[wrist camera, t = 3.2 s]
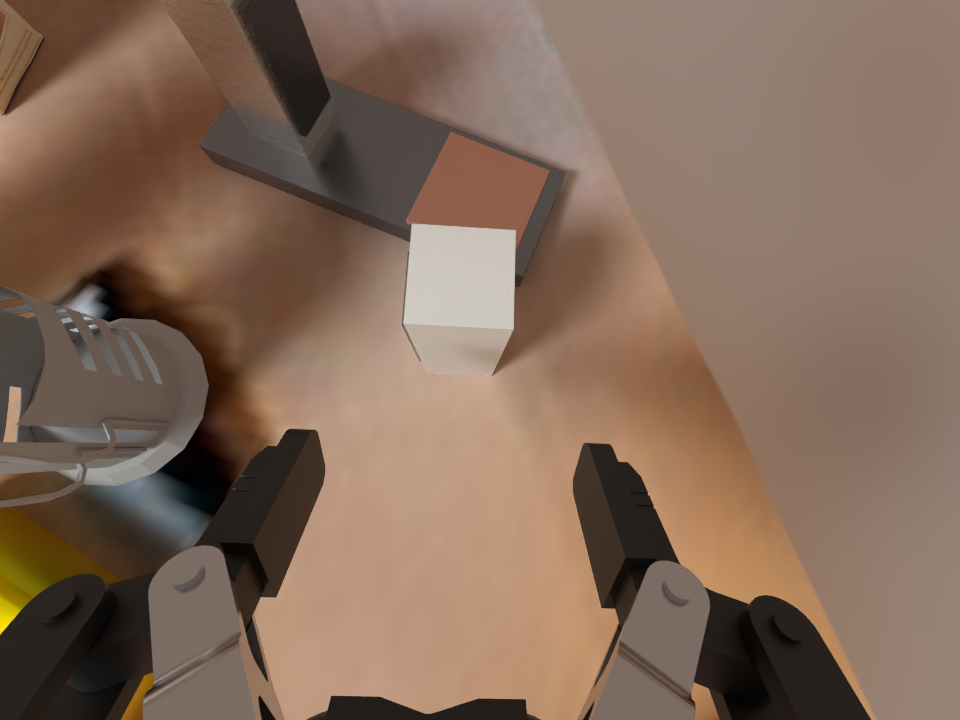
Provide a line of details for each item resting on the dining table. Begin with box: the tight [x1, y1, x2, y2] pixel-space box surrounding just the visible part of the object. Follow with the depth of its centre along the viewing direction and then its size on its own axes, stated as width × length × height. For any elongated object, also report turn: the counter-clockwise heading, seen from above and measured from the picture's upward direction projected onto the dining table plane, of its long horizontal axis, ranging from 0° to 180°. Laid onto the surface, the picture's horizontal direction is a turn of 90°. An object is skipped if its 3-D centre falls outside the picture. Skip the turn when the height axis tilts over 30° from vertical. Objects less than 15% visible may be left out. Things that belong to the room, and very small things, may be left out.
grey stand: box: [160, 0, 566, 286], centre depth 21 cm, size 22×8×12 cm, turn 68°
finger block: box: [402, 224, 516, 376], centre depth 19 cm, size 4×4×10 cm
